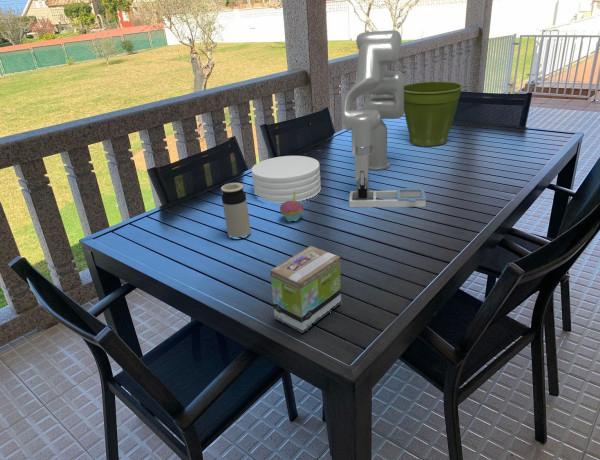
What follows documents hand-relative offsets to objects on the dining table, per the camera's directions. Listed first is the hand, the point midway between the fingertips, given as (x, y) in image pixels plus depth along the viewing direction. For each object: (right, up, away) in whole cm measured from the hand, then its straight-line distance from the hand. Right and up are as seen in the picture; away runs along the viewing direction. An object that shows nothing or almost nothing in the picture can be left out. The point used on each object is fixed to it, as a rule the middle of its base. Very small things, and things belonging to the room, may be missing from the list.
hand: (362, 194), depth 170 cm
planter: (0, -3, +1) cm, 3 cm away
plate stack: (-29, +2, +17) cm, 34 cm away
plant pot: (+44, +33, +66) cm, 86 cm away
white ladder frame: (+9, -3, 0) cm, 9 cm away
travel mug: (-45, -15, -16) cm, 50 cm away
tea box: (-22, -35, -58) cm, 71 cm away
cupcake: (-27, -10, -8) cm, 30 cm away
